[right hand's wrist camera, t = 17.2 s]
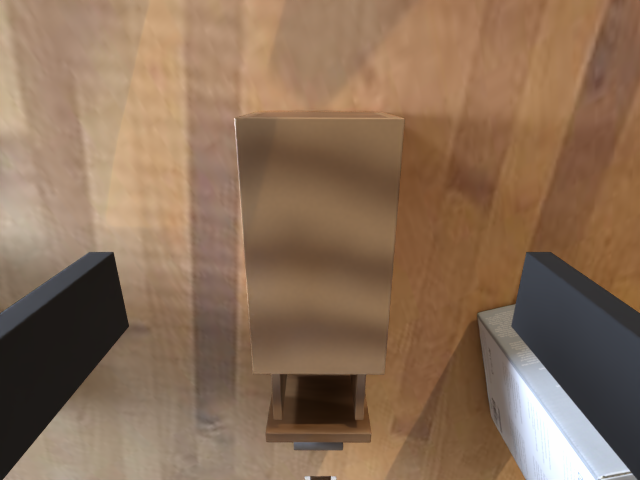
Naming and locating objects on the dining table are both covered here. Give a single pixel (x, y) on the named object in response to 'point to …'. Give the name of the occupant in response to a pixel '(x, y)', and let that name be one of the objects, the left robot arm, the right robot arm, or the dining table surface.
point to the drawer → (318, 411)
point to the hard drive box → (539, 411)
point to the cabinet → (319, 237)
